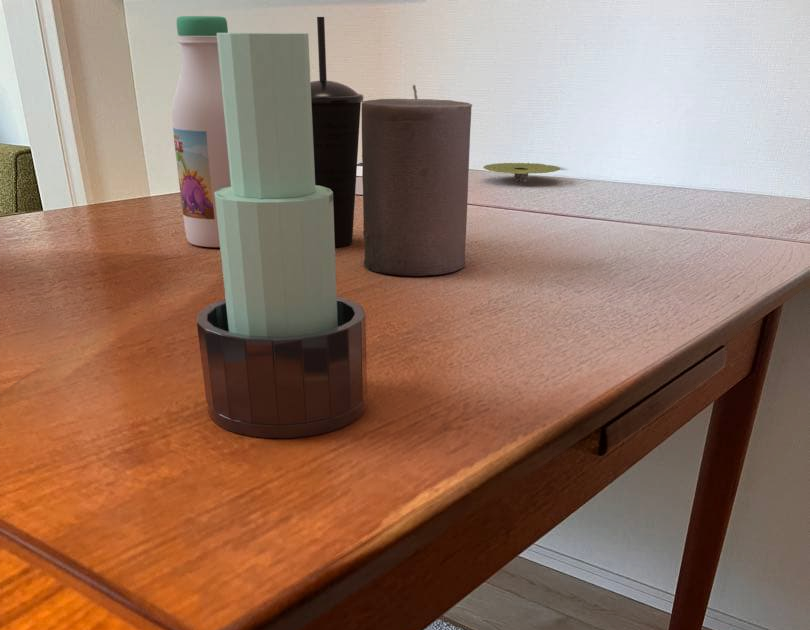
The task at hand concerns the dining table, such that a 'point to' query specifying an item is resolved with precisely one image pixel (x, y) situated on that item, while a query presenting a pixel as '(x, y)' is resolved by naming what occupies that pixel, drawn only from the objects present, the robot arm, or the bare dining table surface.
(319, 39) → the drinking cup
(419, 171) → the pillar candle
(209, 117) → the milk bottle
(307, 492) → the dining table surface
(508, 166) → the green disc on stem
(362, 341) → the holder
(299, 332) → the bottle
